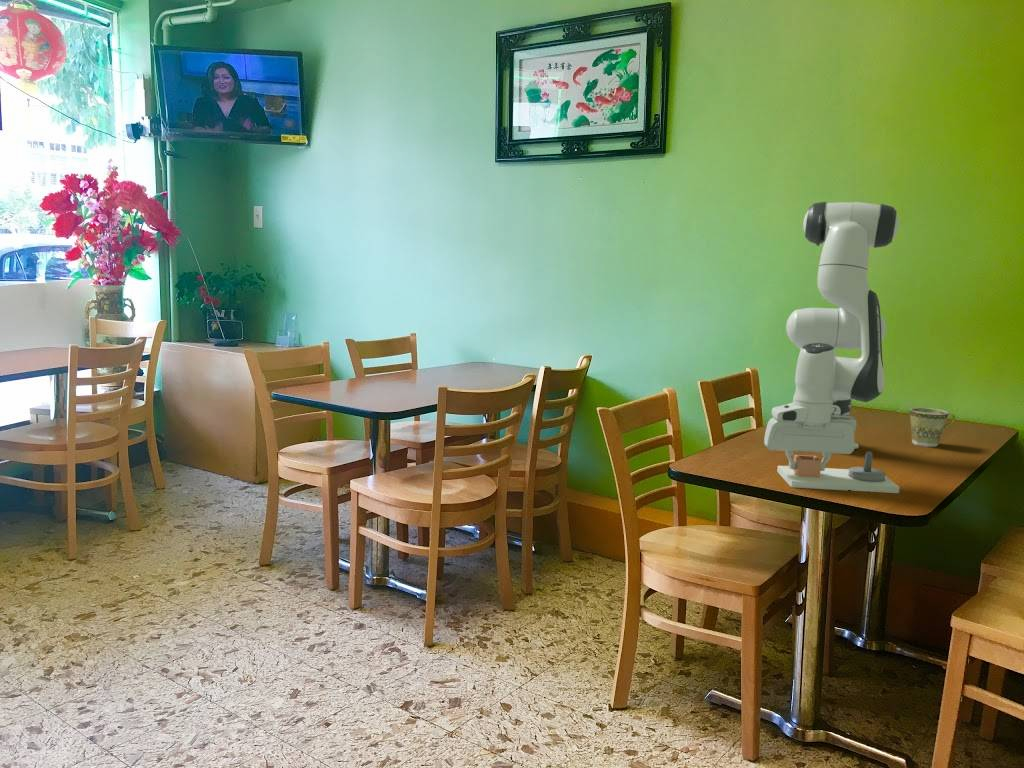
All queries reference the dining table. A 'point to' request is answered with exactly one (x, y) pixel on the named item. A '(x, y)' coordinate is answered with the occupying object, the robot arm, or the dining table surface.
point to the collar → (807, 466)
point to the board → (843, 478)
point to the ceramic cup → (928, 425)
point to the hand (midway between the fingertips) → (806, 469)
